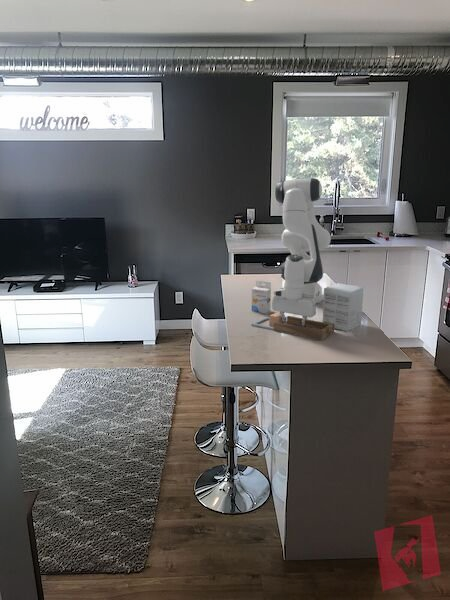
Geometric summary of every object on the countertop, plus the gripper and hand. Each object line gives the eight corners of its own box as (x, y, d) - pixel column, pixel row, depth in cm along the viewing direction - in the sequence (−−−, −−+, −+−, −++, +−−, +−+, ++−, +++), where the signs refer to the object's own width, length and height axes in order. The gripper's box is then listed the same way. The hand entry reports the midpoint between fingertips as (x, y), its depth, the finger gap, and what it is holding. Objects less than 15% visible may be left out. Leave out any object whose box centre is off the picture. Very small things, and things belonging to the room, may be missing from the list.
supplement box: (335, 318, 227) (337, 282, 223) (361, 324, 219) (364, 286, 215) (321, 325, 218) (323, 288, 213) (348, 331, 209) (351, 292, 205)
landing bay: (266, 318, 228) (266, 317, 228) (288, 322, 222) (288, 321, 222) (251, 325, 218) (251, 323, 218) (273, 330, 212) (273, 328, 212)
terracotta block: (275, 323, 221) (275, 312, 220) (284, 325, 218) (284, 314, 217) (269, 326, 217) (269, 315, 216) (279, 328, 214) (279, 317, 213)
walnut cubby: (288, 322, 222) (288, 315, 221) (334, 332, 209) (334, 324, 208) (273, 330, 212) (274, 322, 211) (320, 340, 199) (321, 332, 198)
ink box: (251, 311, 241) (251, 282, 237) (255, 308, 245) (255, 280, 242) (266, 313, 237) (267, 284, 233) (270, 310, 241) (271, 282, 237)
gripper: (319, 294, 206) (317, 325, 209) (277, 288, 217) (276, 317, 221) (312, 297, 201) (311, 329, 204) (270, 291, 212) (269, 321, 216)
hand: (293, 323), depth 213 cm, fingers open, 8 cm apart
